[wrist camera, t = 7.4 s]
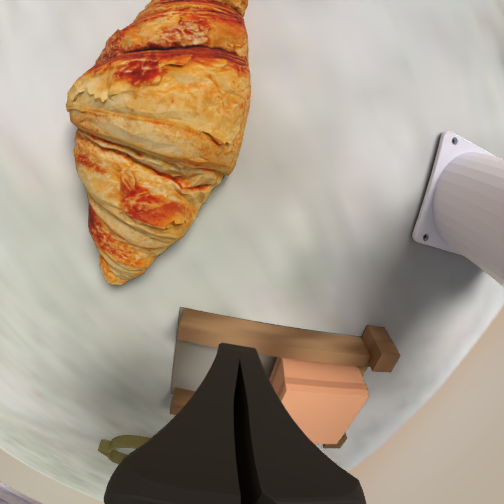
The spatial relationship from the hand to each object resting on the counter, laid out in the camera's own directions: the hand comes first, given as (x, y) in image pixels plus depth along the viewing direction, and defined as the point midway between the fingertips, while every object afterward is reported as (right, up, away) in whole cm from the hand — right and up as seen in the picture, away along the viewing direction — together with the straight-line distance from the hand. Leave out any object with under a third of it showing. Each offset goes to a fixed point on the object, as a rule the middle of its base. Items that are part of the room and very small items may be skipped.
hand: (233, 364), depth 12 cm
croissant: (-5, +12, +6) cm, 14 cm away
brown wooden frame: (+2, -5, +13) cm, 14 cm away
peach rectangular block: (+5, -6, +13) cm, 15 cm away
